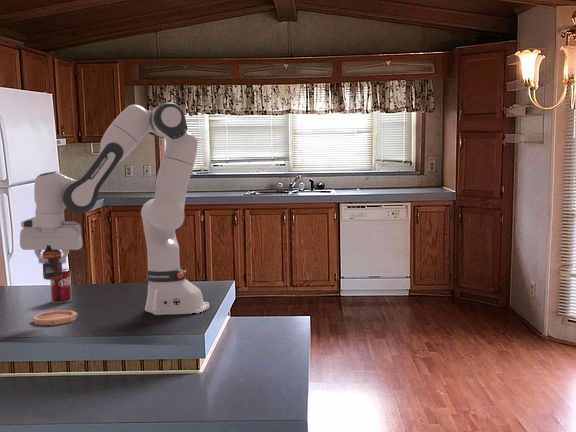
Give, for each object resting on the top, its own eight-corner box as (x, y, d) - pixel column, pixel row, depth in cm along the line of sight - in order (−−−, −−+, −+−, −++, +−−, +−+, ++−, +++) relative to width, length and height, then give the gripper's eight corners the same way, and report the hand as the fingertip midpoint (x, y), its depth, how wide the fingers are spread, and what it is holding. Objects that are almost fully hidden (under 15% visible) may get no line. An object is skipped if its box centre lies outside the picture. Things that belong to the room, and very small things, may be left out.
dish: (82, 315, 208) (82, 310, 208) (64, 325, 195) (64, 320, 195) (46, 315, 209) (46, 310, 209) (26, 325, 196) (25, 319, 196)
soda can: (75, 299, 234) (73, 268, 233) (66, 303, 227) (64, 271, 226) (57, 299, 235) (55, 268, 234) (47, 303, 228) (46, 271, 226)
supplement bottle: (63, 276, 204) (62, 243, 204) (61, 279, 199) (60, 245, 198) (44, 277, 203) (43, 243, 202) (42, 280, 197) (41, 245, 196)
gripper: (84, 220, 201) (86, 261, 202) (26, 220, 204) (28, 261, 205) (75, 222, 195) (77, 264, 196) (16, 222, 197) (18, 264, 199)
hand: (52, 263), depth 200 cm, fingers closed on supplement bottle, 6 cm apart
